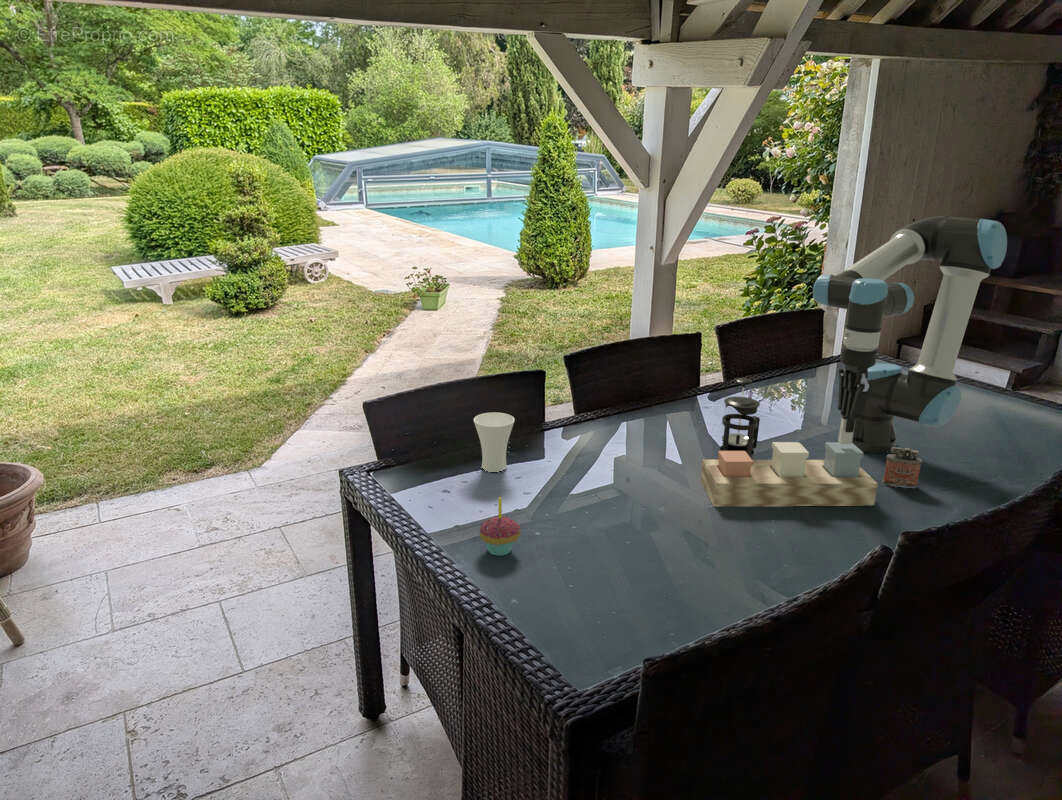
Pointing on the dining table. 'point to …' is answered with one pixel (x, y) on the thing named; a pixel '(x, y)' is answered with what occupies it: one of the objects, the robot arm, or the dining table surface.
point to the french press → (738, 440)
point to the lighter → (902, 467)
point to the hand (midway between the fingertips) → (844, 442)
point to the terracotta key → (734, 463)
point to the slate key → (842, 459)
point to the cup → (494, 439)
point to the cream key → (789, 459)
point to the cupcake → (499, 533)
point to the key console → (786, 487)
